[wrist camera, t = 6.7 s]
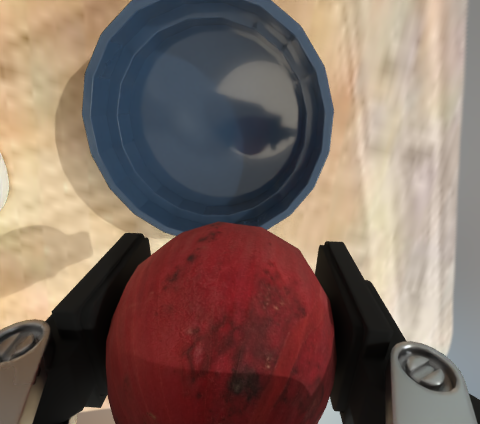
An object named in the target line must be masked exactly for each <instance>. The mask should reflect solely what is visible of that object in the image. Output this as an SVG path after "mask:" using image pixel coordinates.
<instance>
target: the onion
mask: <svg viewBox="0 0 480 424" xmlns="http://www.w3.org/2000/svg"><path fill="white" fill-rule="evenodd" d="M336 362H337V355H336V343H335V331H334V322H333V316H332V310H331V304H330V300H329V298H328V296H327V294H326V293H325V291H324V289H323V288H322V286H321V284H320V282H319V281H318V279H317V277H316V276H315V274H314V273H313V271H312V269H311V268H310V266H309V265H308V263H307V261H306V260H305V258H304V257H303V255H302V253H301V252H300V250H299V249H298V248H296V247H294V246H293V245H291V244H289V243H288V242H286V241H284V240H282V239H281V238H279V237H277V236H276V235H274V234H272V233H271V232H269V231H267V230H266V229H264V228H262V227H256V226H248V225H241V224H233V223H226V222H215V223H212V224H209V225H205V226H202V227H199V228H195V229H192V230H189V231H185V232H182V233H180V234H179V235H177V236H176V237H175V238H173V239H172V240H170V241H169V242H168V243H166V244H165V245H164V246H162V247H161V248H160V249H159V250H157V251H156V252H155V253H153V254H152V255H151V256H150V257H148V258H147V259H146V260H145V261H143V262H142V263H141V264H139V265H138V267H137V268H136V270H135V272H134V273H133V275H132V276H131V278H130V280H129V281H128V283H127V285H126V287H125V289H124V292H123V294H122V296H121V298H120V301H119V303H118V305H117V308H116V310H115V312H114V314H113V317H112V320H111V324H110V328H109V332H108V336H107V340H106V376H107V390H108V399H109V403H110V407H111V410H112V415H113V418H114V421H115V423H116V424H318V421H319V420H320V418H321V416H322V414H323V412H324V410H325V408H326V406H327V403H328V400H329V397H330V394H331V391H332V387H333V384H334V378H335V370H336Z"/></svg>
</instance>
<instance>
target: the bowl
mask: <svg viewBox="0 0 480 424" xmlns="http://www.w3.org/2000/svg"><path fill="white" fill-rule="evenodd" d="M85 73H86V74H85V77H84V92H83V107H82V117H83V122H84V126H85V130H86V135H87V139H88V143H89V148H90V152H91V154H92V157H93V159H94V161H95V162H96V164H97V166H98V168H99V170H100V172H101V173H102V175H103V177H104V179H105V181H106V183H107V184H108V186H109V188H110V189H111V190H112V191H113V192H114V194H115V195H116V196H117V197H118V198H119V199H120V200H121V201H122V202H123V203H124V204H125V205H126V206H127V207H128V208H129V209H130V210H131V211H132V212H133V213H134V214H135V215H136V216H138V217H140V218H141V219H143V220H145V221H146V222H148V223H150V224H151V225H153V226H155V227H156V228H158V229H159V230H161V231H163V232H165V233H168V234H171V235H175V236H177V235H179V234H180V233H182V232H185V231H189V230H192V229H195V228H199V227H202V226H205V225H209V224H212V223H215V222H226V223H233V224H241V225H248V226H256V227H262V228H264V229H266V230H268V229H269V228H271V227H272V226H274V225H276V224H277V223H279V222H280V221H282V220H283V219H285V218H287V217H288V216H290V215H291V214H292V213H293V212H294V210H295V209H296V208H297V207H298V206H299V205H300V204H301V202H302V201H303V200H304V199H305V198H306V197H307V195H308V194H309V193H310V192H311V191H312V190H313V188H314V187H315V185H316V182H317V180H318V178H319V175H320V173H321V171H322V168H323V166H324V164H325V162H326V159H327V157H328V155H329V151H330V143H331V134H332V124H333V115H334V108H333V103H332V99H331V94H330V89H329V84H328V79H327V74H326V70H325V67H324V65H323V63H322V61H321V59H320V58H319V56H318V54H317V52H316V51H315V49H314V47H313V46H312V44H311V42H310V40H309V39H308V37H307V35H306V33H305V32H304V30H303V28H302V27H301V25H299V24H298V23H297V22H296V21H295V20H294V19H292V18H291V17H290V16H289V15H288V14H287V13H285V12H284V11H283V10H282V9H281V8H280V7H278V6H277V5H276V4H275V3H274V2H272V1H271V0H132V1H131V2H130V3H129V4H128V5H127V6H126V7H125V8H124V9H123V10H122V11H121V12H120V14H119V15H118V16H117V17H116V18H115V19H114V20H113V21H112V22H111V23H110V24H109V25H108V27H107V28H106V29H105V30H104V31H103V32H102V34H101V35H100V38H99V40H98V43H97V45H96V47H95V50H94V52H93V55H92V57H91V60H90V62H89V65H88V67H87V69H86V72H85Z"/></svg>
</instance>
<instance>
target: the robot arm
mask: <svg viewBox="0 0 480 424" xmlns="http://www.w3.org/2000/svg"><path fill="white" fill-rule="evenodd" d="M8 192H9V178H8V173H7V168H6V165H5V163H4V160H3V157H2V155H1V153H0V211H1V210H2V208H3V206H4V204H5V203H6V200H7V196H8ZM150 256H151V253H150V245H149V240H148V238H144V235H143V234H141V233H125V234H124V235H123V236H122V237H121V238H120V239H119V240H118V241H117V242H116V244H115V245H114V246H113V247H112V248H111V249H110V250H109V251H108V252H107V253H106V254H105V255H104V256H103V257H102V258H101V259H100V261H99V262H98V263H97V264H96V265H95V266H94V267H93V268H92V269H91V270H90V271H89V272H88V273H87V274H86V275H85V277H84V278H83V279H82V280H81V281H80V282H79V283H78V284H77V285H76V286H75V287H74V288H73V289H72V290H71V291H70V293H69V294H68V295H67V296H66V297H65V298H64V299H63V300H62V301H61V302H60V303H59V304H58V305H57V306H56V307H55V308H54V310H53V311H52V315H51V316H50V317H49V318H48V319H47V320H46V321H43V320H36V319H34V320H25V321H22V322H18V323H15V324H12V325H10V326H8V327H5V328H3V329H2V330H0V424H76V421H77V413H79V412H80V411H82V410H83V408H84V407H96V408H101V406H102V404H103V402H104V400H105V398H106V396H107V395H108V390H107V376H106V340H107V336H108V332H109V328H110V324H111V320H112V317H113V314H114V312H115V310H116V308H117V305H118V303H119V301H120V298H121V296H122V294H123V292H124V289H125V287H126V285H127V283H128V281H129V280H130V278H131V276H132V275H133V273H134V272H135V270H136V268H137V267H138V265H139V264H141V263H142V262H143V261H145V260H146V259H147V258H148V257H150ZM315 276H316V277H317V279H318V281H319V282H320V284H321V286H322V288H323V289H324V291H325V293H326V294H327V296H328V298H329V300H330V304H331V310H332V316H333V322H334V331H335V343H336V355H337V362H336V370H335V378H334V384H333V387H332V391H331V394H330V399H331V403H332V407H333V409H334V411H340V415H341V418H342V422H343V424H480V400H479V399H477V398H476V397H474V396H472V395H470V394H469V393H468V389H467V386H466V383H465V380H464V378H463V376H462V374H461V371H460V370H459V369H458V368H457V367H456V365H455V364H454V363H453V362H452V361H451V360H450V359H448V358H447V357H446V356H445V355H444V354H442V353H440V352H439V351H437V350H435V349H434V348H432V347H429V346H427V345H424V344H422V343H417V342H412V341H410V342H407V341H406V340H405V338H404V336H403V335H402V333H401V331H400V330H399V328H398V326H397V325H396V323H395V321H394V319H393V318H392V316H391V314H390V313H389V311H388V309H387V308H386V306H385V304H384V303H383V301H382V299H381V298H380V296H379V294H378V293H377V291H376V289H375V287H374V286H373V284H372V283H371V282H370V281H368V280H364V278H363V276H362V275H361V273H360V271H359V269H358V267H357V266H356V264H355V262H354V260H353V259H352V257H351V255H350V253H349V252H348V250H347V248H346V246H345V244H344V243H343V242H329V241H326V242H325V245H320V246H319V251H318V257H317V264H316V271H315Z"/></svg>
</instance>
